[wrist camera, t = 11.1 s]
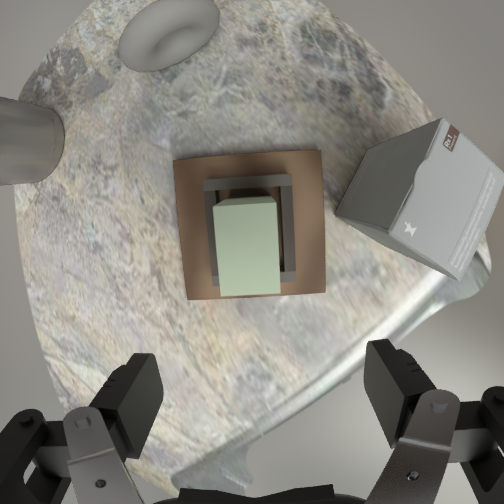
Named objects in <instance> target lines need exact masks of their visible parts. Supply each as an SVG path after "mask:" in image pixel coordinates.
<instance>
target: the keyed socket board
mask: <svg viewBox="0 0 504 504" xmlns="http://www.w3.org/2000/svg"><path fill="white" fill-rule="evenodd" d="M173 166H174V180H175V192H176V203H177V214H178V224H179V234H180V243H181V252H182V260H183V269H184V277H185V284H186V292H187V299H188V300H208V299H231V298H250V297H268V296H284V295H298V294H312V293H325V292H326V274H325V221H324V195H323V176H322V159H321V150H305V151H280V152H261V153H246V154H233V155H221V156H211V157H201V158H191V159H183V160H174V161H173ZM261 195H271V196H272V197H273V199H274V200H275V201H276V206H277V225H278V245H279V267H280V291H281V293H278V294H261V295H241V296H221V293H220V283H219V272H218V262H217V251H216V239H215V228H214V215H213V206H215V205H216V204H218V203H220V202H221V201H223V200H225V199H227V198H230V197H245V196H261Z"/></svg>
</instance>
